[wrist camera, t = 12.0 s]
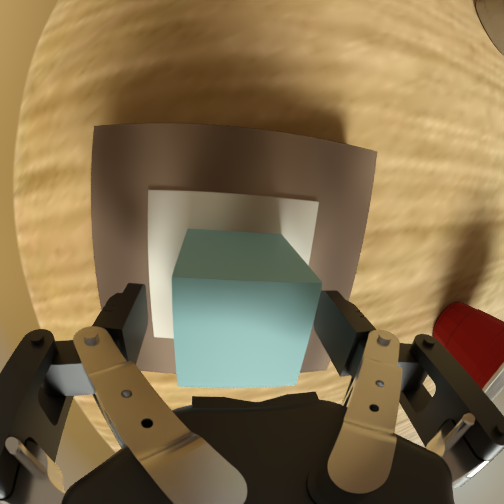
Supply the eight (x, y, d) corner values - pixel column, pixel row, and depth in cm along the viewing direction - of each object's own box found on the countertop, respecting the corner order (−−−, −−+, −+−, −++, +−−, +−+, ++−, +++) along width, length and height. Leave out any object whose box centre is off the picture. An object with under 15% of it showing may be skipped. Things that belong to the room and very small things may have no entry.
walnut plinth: (347, 151, 18) (379, 151, 14) (311, 340, 23) (327, 372, 19) (117, 131, 15) (92, 125, 11) (126, 336, 20) (113, 369, 16)
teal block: (281, 234, 15) (322, 282, 9) (270, 314, 16) (295, 385, 11) (187, 228, 14) (171, 277, 8) (186, 311, 16) (177, 386, 10)
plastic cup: (407, 369, 27) (457, 435, 16) (426, 296, 24) (503, 361, 12) (461, 342, 28) (510, 390, 17) (481, 275, 25) (547, 319, 13)
